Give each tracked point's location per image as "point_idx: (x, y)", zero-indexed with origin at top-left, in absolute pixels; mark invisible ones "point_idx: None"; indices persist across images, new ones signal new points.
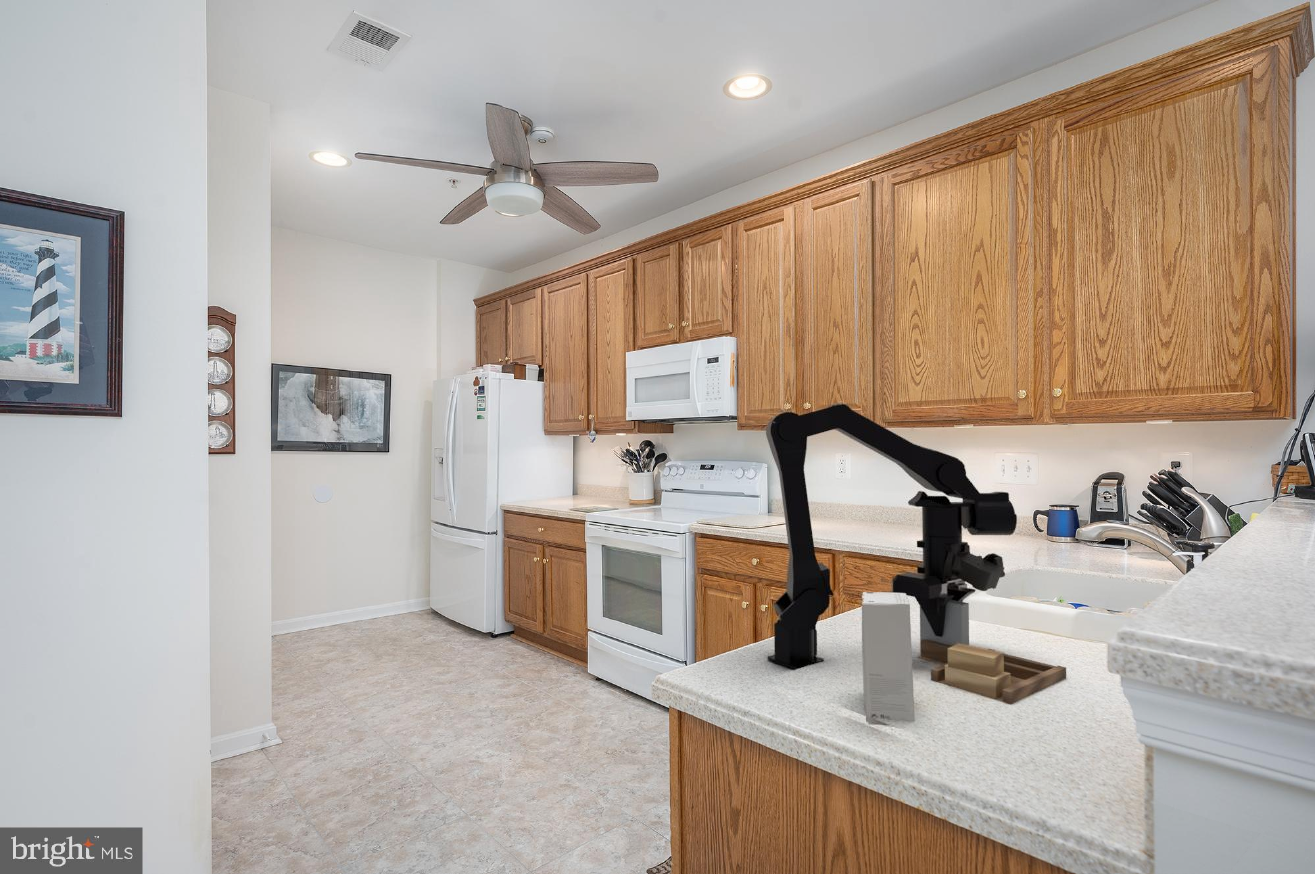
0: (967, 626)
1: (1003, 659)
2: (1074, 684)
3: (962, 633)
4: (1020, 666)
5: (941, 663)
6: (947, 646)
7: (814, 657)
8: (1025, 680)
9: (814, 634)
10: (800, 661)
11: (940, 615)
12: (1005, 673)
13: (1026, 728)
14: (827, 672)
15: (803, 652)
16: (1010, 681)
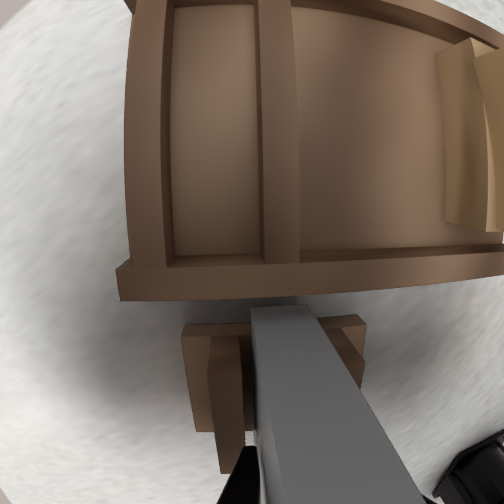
0: (288, 411)
1: (501, 48)
2: (114, 4)
3: (347, 378)
4: (272, 58)
5: (356, 348)
6: (355, 378)
7: (459, 466)
8: (412, 8)
9: (478, 493)
10: (496, 446)
11: (424, 496)
12: (483, 50)
13: (500, 20)
14: (496, 413)
15: (501, 455)
16: (454, 45)
